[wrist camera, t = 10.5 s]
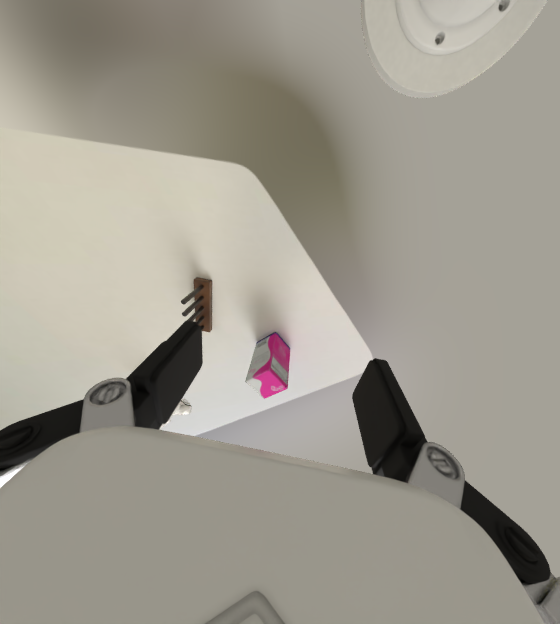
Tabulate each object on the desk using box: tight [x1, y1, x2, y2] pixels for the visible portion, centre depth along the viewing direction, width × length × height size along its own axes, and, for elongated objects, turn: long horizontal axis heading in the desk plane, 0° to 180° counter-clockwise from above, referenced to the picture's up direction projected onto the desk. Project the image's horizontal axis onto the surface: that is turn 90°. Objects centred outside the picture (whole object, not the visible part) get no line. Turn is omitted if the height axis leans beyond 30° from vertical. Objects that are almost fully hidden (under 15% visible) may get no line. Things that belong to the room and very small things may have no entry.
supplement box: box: [245, 332, 290, 399], centre depth 42 cm, size 6×6×12 cm
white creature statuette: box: [159, 401, 192, 430], centre depth 56 cm, size 10×9×12 cm
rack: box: [181, 278, 212, 332], centre depth 40 cm, size 12×3×8 cm, turn 170°
